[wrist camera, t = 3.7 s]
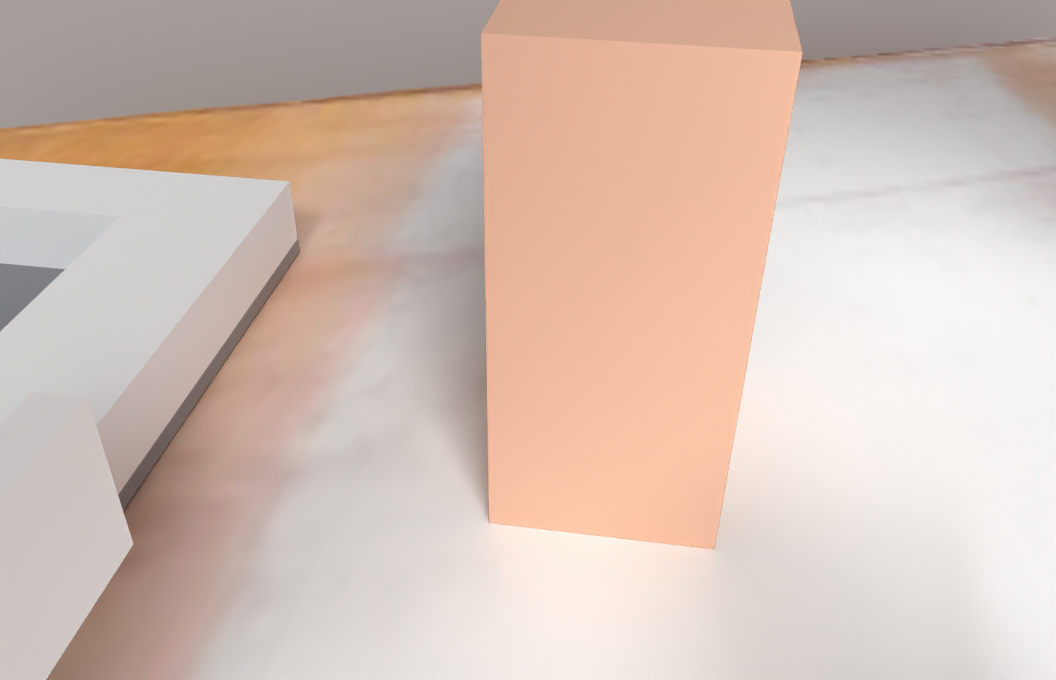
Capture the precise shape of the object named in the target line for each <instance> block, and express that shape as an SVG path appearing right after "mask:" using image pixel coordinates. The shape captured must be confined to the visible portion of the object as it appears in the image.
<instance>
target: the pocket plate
mask: <svg viewBox="0 0 1056 680" xmlns="http://www.w3.org/2000/svg"><path fill="white" fill-rule="evenodd" d="M299 252H300V251H299V244H298V237H297V230H296V223H295V216H294V209H293V202H292V195H291V188H290V181H277V180H264V179H252V178H239V177H226V176H213V175H201V174H188V173H175V172H163V171H150V170H137V169H124V168H112V167H99V166H86V165H74V164H61V163H48V162H35V161H23V160H10V159H0V427H1V426H2V425H3V424H4V423H5V422H6V421H7V419H8V418H9V417H10V416H11V415H12V414H13V413H14V412H15V411H16V410H17V409H18V407H19V406H20V405H21V404H22V403H23V402H24V401H25V400H26V399H27V398H28V397H29V395H30V394H31V393H32V392H40V393H49V394H58V395H67V396H76V397H85V398H88V401H89V404H90V408H91V411H92V414H93V417H94V420H95V424H96V427H97V430H98V433H99V436H100V439H101V443H102V446H103V449H104V452H105V455H106V458H107V462H108V465H109V468H110V471H111V474H112V477H113V481H114V484H115V487H116V490H117V493H118V496H119V500H120V503H121V506H122V509H123V511H124V509H125V508H126V506H127V505H128V503H129V502H130V500H131V499H132V497H133V496H134V495H135V493H136V492H137V490H138V489H139V487H140V486H141V484H142V483H143V481H144V480H145V478H146V477H147V475H148V474H149V472H150V471H151V470H152V468H153V467H154V465H155V464H156V462H157V461H158V459H159V458H160V456H161V455H162V453H163V452H164V450H165V449H166V447H167V446H168V445H169V443H170V442H171V440H172V439H173V437H174V436H175V434H176V433H177V431H178V430H179V428H180V427H181V425H182V424H183V422H184V421H185V420H186V418H187V417H188V415H189V414H190V412H191V411H192V409H193V408H194V406H195V405H196V403H197V402H198V400H199V399H200V398H201V396H202V395H203V393H204V392H205V390H206V389H207V387H208V386H209V384H210V383H211V381H212V380H213V378H214V377H215V375H216V374H217V373H218V371H219V370H220V368H221V367H222V365H223V364H224V362H225V361H226V359H227V358H228V356H229V355H230V353H231V352H232V350H233V349H234V348H235V346H236V345H237V343H238V342H239V340H240V339H241V337H242V336H243V334H244V333H245V331H246V330H247V328H248V327H249V325H250V324H251V323H252V321H253V320H254V318H255V317H256V315H257V314H258V312H259V311H260V309H261V308H262V306H263V305H264V303H265V302H266V301H267V299H268V298H269V296H270V295H271V293H272V292H273V290H274V289H275V287H276V286H277V284H278V283H279V281H280V280H281V278H282V277H283V276H284V274H285V273H286V271H287V270H288V268H289V267H290V265H291V264H292V262H293V261H294V259H295V258H296V256H297V255H298V253H299Z"/></svg>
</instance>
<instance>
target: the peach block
mask: <svg viewBox="0 0 1056 680" xmlns="http://www.w3.org/2000/svg"><path fill="white" fill-rule="evenodd" d="M481 47H482V48H481V51H482V114H483V175H484V236H485V298H486V359H487V420H488V481H489V523H493V524H502V525H510V526H519V527H528V528H536V529H545V530H553V531H562V532H570V533H579V534H587V535H596V536H604V537H613V538H621V539H630V540H638V541H647V542H655V543H664V544H672V545H681V546H689V547H698V548H706V549H715V543H716V537H717V532H718V526H719V521H720V515H721V509H722V504H723V498H724V492H725V487H726V481H727V475H728V470H729V464H730V459H731V453H732V447H733V442H734V436H735V430H736V425H737V419H738V413H739V408H740V402H741V397H742V391H743V385H744V380H745V374H746V368H747V363H748V357H749V351H750V346H751V340H752V335H753V329H754V323H755V318H756V312H757V306H758V301H759V295H760V289H761V284H762V278H763V273H764V267H765V261H766V256H767V250H768V244H769V239H770V233H771V227H772V222H773V216H774V211H775V205H776V199H777V194H778V188H779V182H780V177H781V171H782V165H783V160H784V154H785V149H786V143H787V137H788V132H789V126H790V120H791V115H792V109H793V103H794V98H795V92H796V87H797V81H798V75H799V70H800V64H801V58H802V53H803V52H802V48H801V44H800V40H799V36H798V32H797V28H796V24H795V20H794V16H793V13H792V8H791V4H790V0H501V1H500V2H499V4H498V6H497V7H496V9H495V11H494V12H493V14H492V16H491V17H490V19H489V21H488V23H487V25H486V26H485V28H484V29H483V31H482V33H481Z"/></svg>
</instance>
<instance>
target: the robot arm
mask: <svg viewBox="0 0 1056 680" xmlns="http://www.w3.org/2000/svg"><path fill="white" fill-rule="evenodd" d="M132 546H133V541H132V538H131V535H130V531H129V528H128V525H127V522H126V519H125V516H124V512H123V509H122V506H121V503H120V500H119V496H118V493H117V490H116V487H115V484H114V481H113V477H112V474H111V471H110V468H109V465H108V462H107V458H106V455H105V452H104V449H103V446H102V443H101V439H100V436H99V433H98V430H97V427H96V424H95V420H94V417H93V414H92V411H91V408H90V404H89V401H88V398H85V397H76V396H67V395H58V394H49V393H40V392H32V393H31V394H30V395H29V397H28V398H27V399H26V400H25V401H24V402H23V403H22V404H21V405H20V406H19V407H18V409H17V410H16V411H15V412H14V413H13V414H12V415H11V416H10V417H9V418H8V419H7V421H6V422H5V423H4V424H3V425H2V426H1V427H0V680H46V679H47V677H48V676H49V674H50V673H51V671H52V670H53V668H54V667H55V665H56V664H57V662H58V660H59V659H60V657H61V656H62V654H63V653H64V651H65V650H66V648H67V647H68V645H69V643H70V642H71V640H72V639H73V637H74V636H75V634H76V633H77V631H78V629H79V628H80V626H81V625H82V623H83V622H84V620H85V619H86V617H87V616H88V614H89V612H90V611H91V609H92V608H93V606H94V605H95V603H96V602H97V600H98V598H99V597H100V595H101V594H102V592H103V591H104V589H105V588H106V586H107V585H108V583H109V581H110V580H111V578H112V577H113V575H114V574H115V572H116V571H117V569H118V568H119V566H120V564H121V563H122V561H123V560H124V558H125V557H126V555H127V554H128V552H129V550H130V549H131V547H132Z"/></svg>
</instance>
